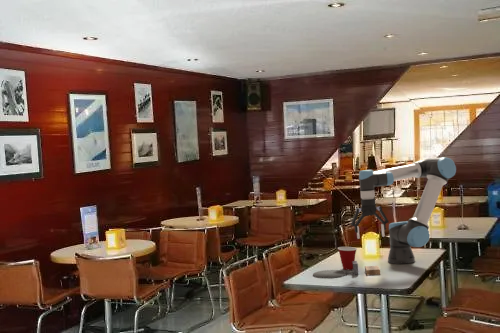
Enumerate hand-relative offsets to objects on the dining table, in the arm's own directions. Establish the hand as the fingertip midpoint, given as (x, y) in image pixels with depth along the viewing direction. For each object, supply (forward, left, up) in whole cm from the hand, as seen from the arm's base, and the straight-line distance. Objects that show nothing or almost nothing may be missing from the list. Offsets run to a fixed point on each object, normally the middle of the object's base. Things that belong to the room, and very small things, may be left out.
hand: (370, 237), depth 304 cm
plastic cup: (+13, -10, -19) cm, 25 cm away
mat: (+24, +3, -19) cm, 30 cm away
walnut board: (+1, +3, -19) cm, 19 cm away
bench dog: (+10, +3, -19) cm, 21 cm away
